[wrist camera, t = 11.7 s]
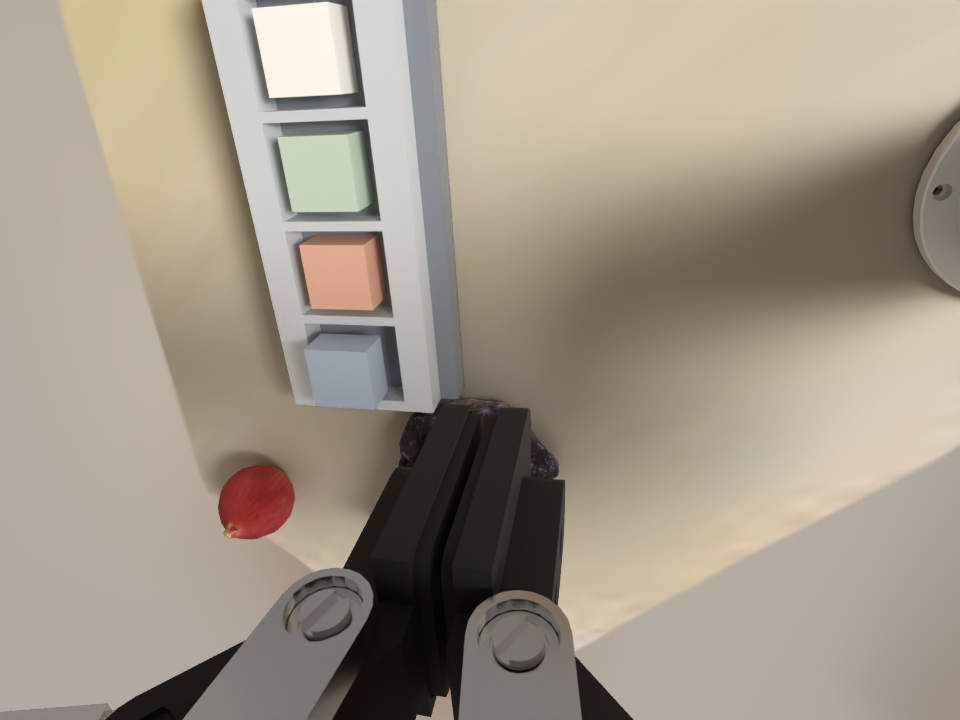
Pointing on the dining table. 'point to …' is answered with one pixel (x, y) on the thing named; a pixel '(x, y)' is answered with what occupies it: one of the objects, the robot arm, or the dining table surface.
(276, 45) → the key ivory
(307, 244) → the key terracotta
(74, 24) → the dining table surface
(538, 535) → the robot arm
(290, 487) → the onion
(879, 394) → the dining table surface
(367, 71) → the keypad board
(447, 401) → the crystal cluster
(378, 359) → the key slate
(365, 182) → the key sage
